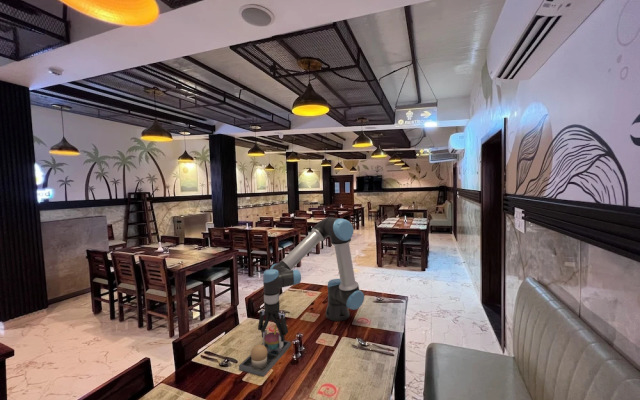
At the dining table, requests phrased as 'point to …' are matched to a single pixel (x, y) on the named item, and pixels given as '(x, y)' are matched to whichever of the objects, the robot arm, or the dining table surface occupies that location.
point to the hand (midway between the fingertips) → (273, 345)
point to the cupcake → (272, 340)
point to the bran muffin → (259, 356)
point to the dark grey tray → (271, 360)
